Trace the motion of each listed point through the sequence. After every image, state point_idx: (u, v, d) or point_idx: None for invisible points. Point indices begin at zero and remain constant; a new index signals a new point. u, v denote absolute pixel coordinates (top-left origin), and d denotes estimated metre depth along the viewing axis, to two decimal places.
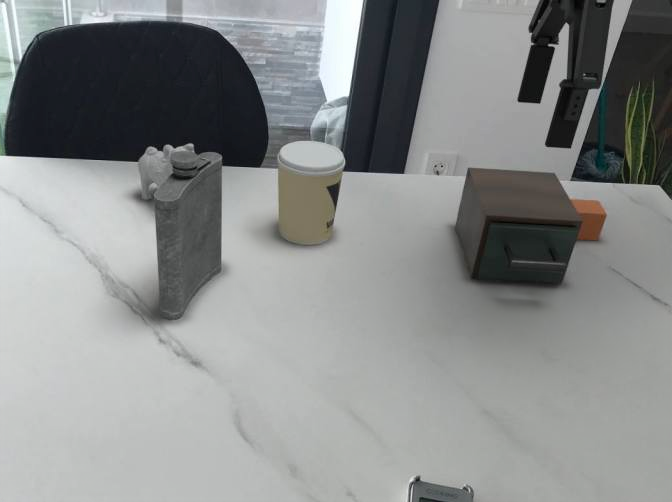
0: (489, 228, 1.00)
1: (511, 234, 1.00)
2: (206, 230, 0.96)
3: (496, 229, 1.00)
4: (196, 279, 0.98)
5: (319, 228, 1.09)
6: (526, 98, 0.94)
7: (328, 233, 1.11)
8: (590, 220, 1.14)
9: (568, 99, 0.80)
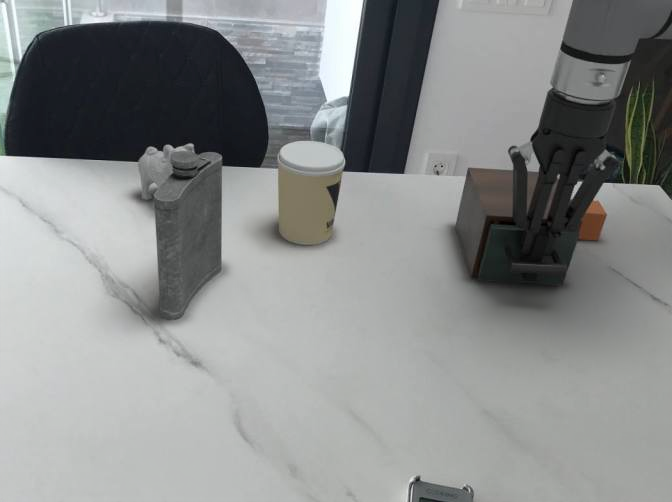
0: (490, 230, 1.00)
1: (512, 236, 1.00)
2: (206, 230, 0.96)
3: (497, 231, 0.99)
4: (196, 279, 0.98)
5: (319, 228, 1.09)
6: None
7: (328, 233, 1.11)
8: (590, 220, 1.14)
9: (550, 241, 0.97)
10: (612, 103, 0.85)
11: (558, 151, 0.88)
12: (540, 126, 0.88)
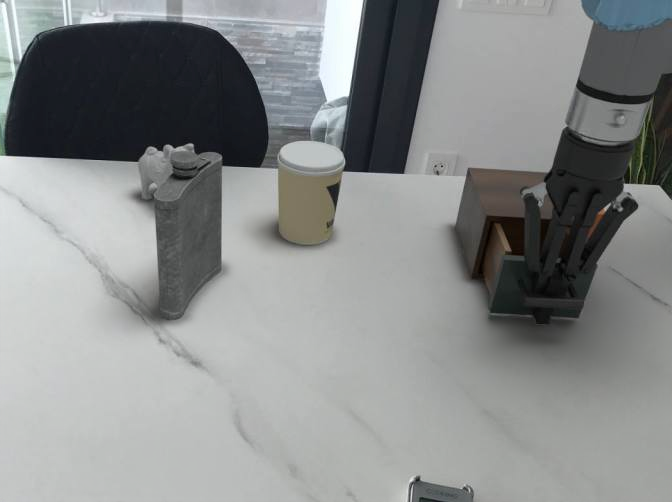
0: (502, 261, 0.94)
1: (525, 268, 0.94)
2: (206, 230, 0.96)
3: (509, 263, 0.93)
4: (196, 279, 0.98)
5: (319, 228, 1.09)
6: None
7: (328, 233, 1.11)
8: None
9: (564, 284, 0.92)
10: (632, 143, 0.80)
11: (573, 193, 0.83)
12: (554, 167, 0.83)
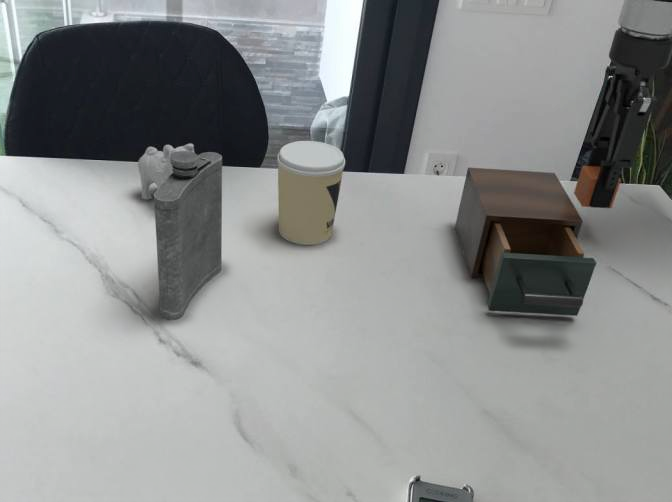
0: (501, 259, 0.94)
1: (524, 266, 0.94)
2: (206, 230, 0.96)
3: (508, 260, 0.94)
4: (196, 279, 0.98)
5: (319, 228, 1.09)
6: None
7: (328, 233, 1.11)
8: None
9: None
10: None
11: None
12: (648, 72, 0.99)
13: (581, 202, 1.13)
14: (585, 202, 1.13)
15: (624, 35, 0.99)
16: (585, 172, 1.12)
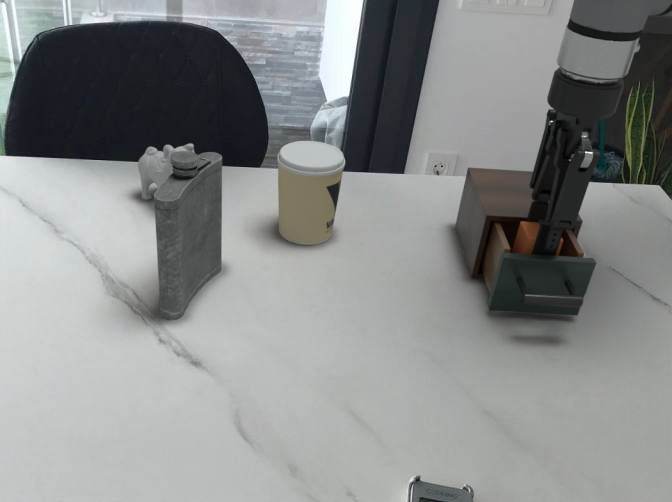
0: (501, 259, 0.94)
1: (524, 266, 0.94)
2: (206, 230, 0.96)
3: (508, 260, 0.94)
4: (196, 279, 0.98)
5: (319, 228, 1.09)
6: None
7: (328, 233, 1.11)
8: None
9: None
10: None
11: (594, 132, 0.87)
12: (590, 121, 0.84)
13: None
14: None
15: (563, 77, 0.84)
16: (523, 230, 0.97)
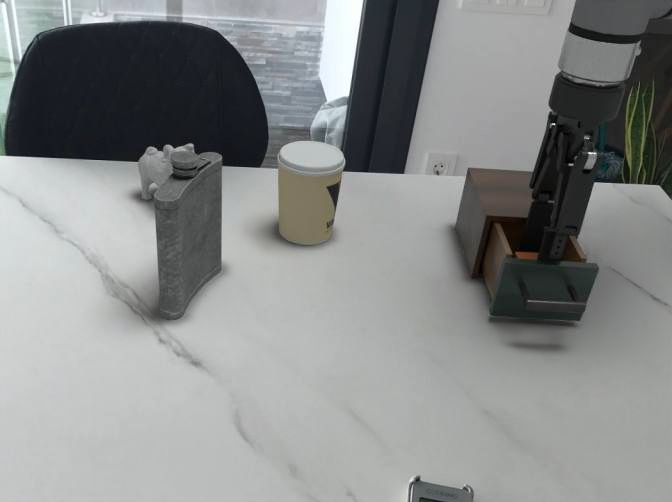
0: (503, 264, 0.93)
1: (526, 271, 0.93)
2: (206, 230, 0.96)
3: (511, 266, 0.93)
4: (196, 279, 0.98)
5: (319, 228, 1.09)
6: None
7: (328, 233, 1.11)
8: None
9: None
10: None
11: None
12: (592, 124, 0.84)
13: None
14: None
15: (564, 80, 0.83)
16: None
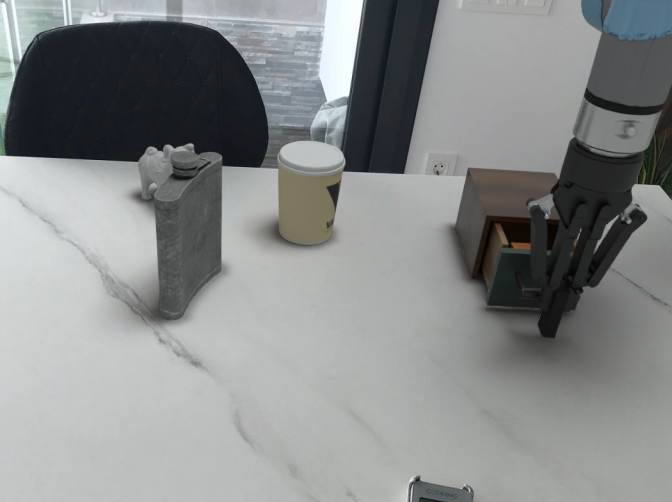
0: (499, 254, 0.95)
1: (522, 261, 0.95)
2: (206, 230, 0.96)
3: (506, 255, 0.95)
4: (196, 279, 0.98)
5: (319, 228, 1.09)
6: None
7: (328, 233, 1.11)
8: None
9: (571, 297, 0.90)
10: (641, 155, 0.78)
11: (581, 205, 0.81)
12: (561, 178, 0.81)
13: None
14: None
15: None
16: None
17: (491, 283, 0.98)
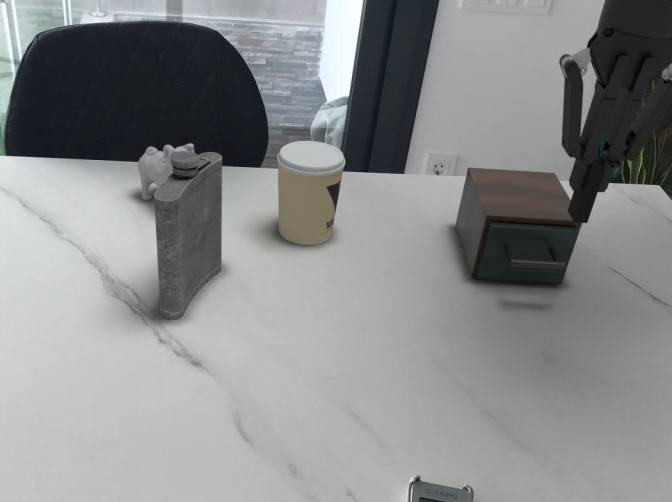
0: (489, 228, 1.00)
1: (511, 234, 1.00)
2: (206, 230, 0.96)
3: (496, 229, 1.00)
4: (196, 279, 0.98)
5: (319, 228, 1.09)
6: None
7: (328, 233, 1.11)
8: None
9: (606, 174, 0.82)
10: None
11: (622, 57, 0.73)
12: (600, 27, 0.73)
13: None
14: None
15: None
16: None
17: (482, 256, 1.03)
